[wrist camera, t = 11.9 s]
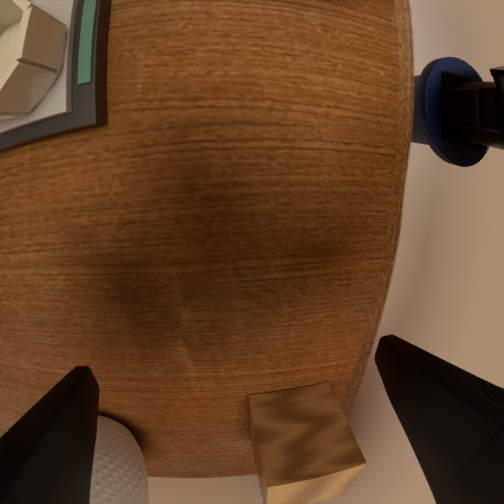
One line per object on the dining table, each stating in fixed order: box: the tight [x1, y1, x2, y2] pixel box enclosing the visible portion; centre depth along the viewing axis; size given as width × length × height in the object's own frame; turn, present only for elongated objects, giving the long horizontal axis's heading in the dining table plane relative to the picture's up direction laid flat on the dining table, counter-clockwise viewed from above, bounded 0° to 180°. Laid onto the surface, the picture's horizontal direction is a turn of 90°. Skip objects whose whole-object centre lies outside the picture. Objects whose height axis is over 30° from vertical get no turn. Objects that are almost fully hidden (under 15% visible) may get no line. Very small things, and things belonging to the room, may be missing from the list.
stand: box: [248, 382, 366, 504], centre depth 23 cm, size 8×8×10 cm
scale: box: [0, 0, 111, 152], centre depth 11 cm, size 9×11×3 cm
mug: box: [90, 415, 149, 504], centre depth 19 cm, size 15×11×13 cm
